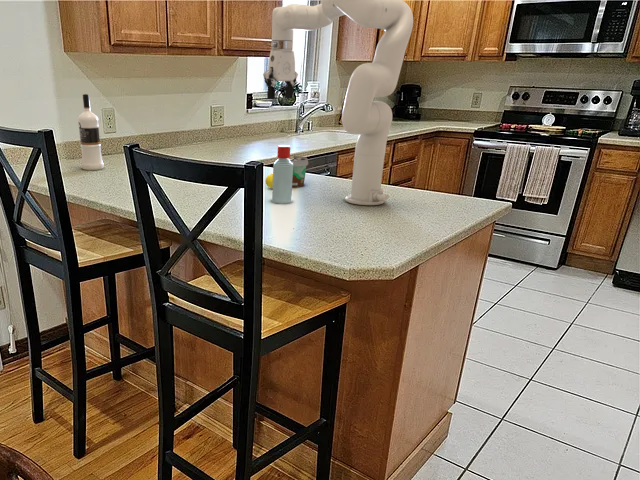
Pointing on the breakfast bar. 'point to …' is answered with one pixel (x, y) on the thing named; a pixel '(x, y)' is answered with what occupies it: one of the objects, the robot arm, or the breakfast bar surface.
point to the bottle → (282, 181)
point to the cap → (283, 151)
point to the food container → (299, 171)
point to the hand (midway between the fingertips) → (280, 98)
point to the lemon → (269, 181)
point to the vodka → (89, 138)
